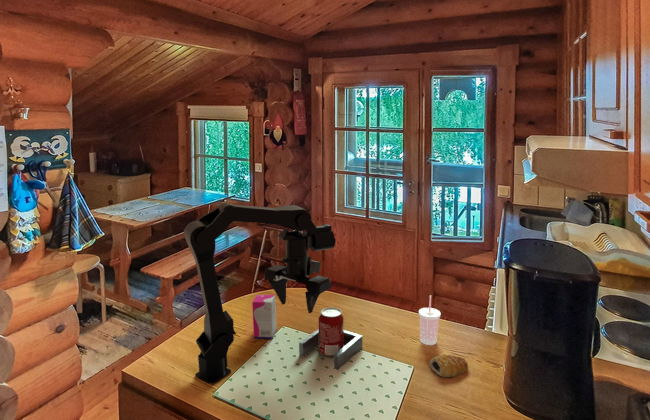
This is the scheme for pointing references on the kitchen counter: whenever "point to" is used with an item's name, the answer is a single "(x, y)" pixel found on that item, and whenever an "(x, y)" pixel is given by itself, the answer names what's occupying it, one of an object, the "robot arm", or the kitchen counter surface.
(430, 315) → the beverage cup
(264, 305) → the supplement box
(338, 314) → the soda can
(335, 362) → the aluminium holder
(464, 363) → the pastry
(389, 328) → the kitchen counter surface
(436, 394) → the kitchen counter surface
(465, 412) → the kitchen counter surface
